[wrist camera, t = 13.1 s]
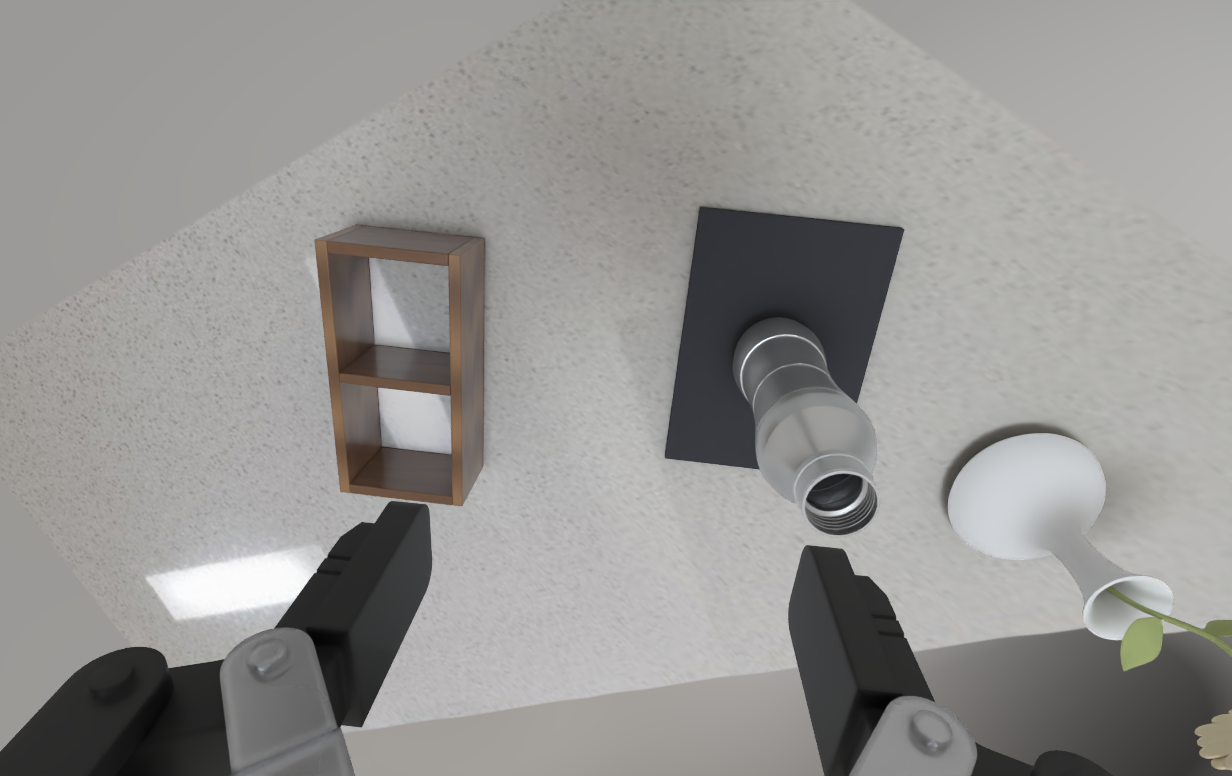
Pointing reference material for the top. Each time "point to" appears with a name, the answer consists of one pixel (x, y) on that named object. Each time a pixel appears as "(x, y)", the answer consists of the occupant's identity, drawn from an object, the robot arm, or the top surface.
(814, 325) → the mat
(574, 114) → the top surface
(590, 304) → the top surface
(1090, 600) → the flower in vase
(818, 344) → the plastic bottle
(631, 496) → the top surface
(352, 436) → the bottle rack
